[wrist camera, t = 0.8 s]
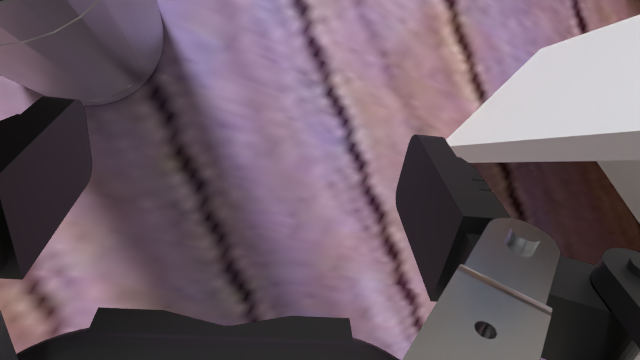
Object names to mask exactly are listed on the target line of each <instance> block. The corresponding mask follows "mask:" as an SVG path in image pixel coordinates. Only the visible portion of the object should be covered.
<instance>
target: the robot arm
mask: <svg viewBox="0 0 640 360" xmlns="http://www.w3.org/2000/svg"><path fill="white" fill-rule="evenodd" d="M163 43H164V41H163V24H162V20H161V15H160V11H159V7H158V3H157V0H0V75H1V76H3V77H6V78H8V79H10V80H12V81H14V82H16V83H19V84H21V85H23V86H25V87H27V88H29V89H31V90H34V91H36V92H38V93H40V94H42V95H44V96H43V97H41V98H40V99H38V100H37V101H36V102H35V103H34V104H32V105H31V106H30V107H29V108H28V109H26V110H25V111H24V112H23V113H22V114H16V115H14V116H11V117H9V118H6V119H4V120H1V121H0V278H3V279H23V278H24V277H25V275H26V274H27V272H28V271H29V269H30V268H31V266H32V265H33V263H34V262H35V261H36V259H37V258H38V256H39V255H40V253H41V252H42V250H43V249H44V247H45V246H46V244H47V243H48V241H49V240H50V239H51V237H52V236H53V234H54V233H55V231H56V230H57V228H58V227H59V225H60V224H61V222H62V221H63V219H64V218H65V217H66V215H67V214H68V212H69V211H70V209H71V208H72V206H73V205H74V203H75V202H76V200H77V199H78V197H79V196H80V195H81V193H82V192H83V190H84V189H85V187H86V186H87V184H88V182H89V180H90V176H91V171H92V156H91V149H90V142H89V135H88V128H87V121H86V113H85V108H84V106H93V105H103V104H107V103H111V102H115V101H118V100H120V99H122V98H124V97H126V96H128V95H130V94H132V93H133V92H135V91H136V90H137V89H138V88H140V87H141V86H142V85H143V84H145V82H146V81H147V80H148V79H149V77H150V76H151V75H152V73H153V72H154V70H155V68H156V66H157V64H158V62H159V60H160V57H161V53H162V48H163ZM396 207H397V211H398V213H399V216H400V219H401V222H402V224H403V227H404V230H405V233H406V235H407V238H408V241H409V243H410V246H411V249H412V252H413V254H414V257H415V260H416V263H417V265H418V268H419V271H420V274H421V276H422V279H423V282H424V284H425V287H426V290H427V293H428V295H429V298H430V301H436V302H437V303H436V305H435V306H434V308H433V310H432V311H431V313H430V315H429V316H428V318H427V320H426V321H425V323H424V325H423V326H422V328H421V330H420V331H419V333H418V335H417V336H416V338H415V340H414V341H413V343H412V345H411V346H410V348H409V350H408V351H407V353H406V355H405V356H404V358H403V360H540V358H544V359H547V360H634V359H635V358H636V357H637V355H638V354H639V353H640V253H639V252H636V251H633V250H629V249H624V248H611V249H608V250H606V251H605V252H604V254H603V255H602V257H601V259H600V260H599V262H598V263H597V265H593V264H589V263H586V262H582V261H579V260H575V259H571V258H568V257H564V256H561V255H560V249H559V247H558V245H557V243H556V242H555V241H554V240H553V239H552V237H551V236H549V235H548V234H547V233H546V232H544V231H543V230H541V229H540V228H538V227H536V226H534V225H532V224H530V223H527V222H524V221H521V220H518V219H513V218H511V217H510V216H509V214H508V213H507V211H506V210H505V208H504V207H503V206H502V204H501V203H500V201H499V200H498V199H497V197H496V196H495V194H494V193H493V192H491V189H490V187H489V186H488V185H487V183H486V182H484V179H483V178H482V176H481V175H480V173H479V172H478V171H477V169H476V168H475V167H473V166H472V165H471V164H469V163H468V162H467V161H465V160H464V159H463V158H461V157H457V156H456V155H455V153H454V152H453V150H452V149H451V147H450V146H449V144H448V143H447V141H446V140H445V138H443V137H436V136H427V135H417V134H415V135H413V136H412V138H411V140H410V142H409V145H408V149H407V152H406V156H405V160H404V163H403V167H402V170H401V174H400V178H399V181H398V185H397V190H396ZM0 360H399V359H398V358H396V357H394V356H393V355H391V354H390V353H388V352H387V351H385V350H383V349H381V348H379V347H377V346H375V345H372V344H370V343H367V342H365V341H362V340H359V339H355V338H352V333H351V326H350V320H349V318H328V317H305V316H287V317H282V318H276V319H270V320H264V321H258V322H252V323H246V324H240V325H234V326H223V325H218V324H214V323H210V322H206V321H203V320H199V319H195V318H191V317H187V316H183V315H179V314H176V313H172V312H168V311H164V310H143V309H120V308H98V310H97V312H96V314H95V316H94V319H93V321H92V323H91V325H90V327H89V328H86V329H80V330H76V331H72V332H68V333H65V334H61V335H58V336H56V337H53V338H50V339H47V340H44V341H42V342H40V343H38V344H35V345H33V346H31V347H29V348H27V349H25V350H23V351H21V352H19V353H17V354H16V352H15V350H14V347H13V344H12V341H11V338H10V336H9V333H8V330H7V327H6V325H5V322H4V319H3V316H2V313H1V311H0Z"/></svg>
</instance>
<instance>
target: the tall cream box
mask: <svg viewBox="0 0 640 360" xmlns="http://www.w3.org/2000/svg"><path fill="white" fill-rule="evenodd" d="M446 141H447V143H448V144H449V146H450V147H451V149H452V150H453V152H454V153H455V155H456V156H457V157H461V158H463V159H464V160H465V161H467V162H468V163H491V162H560V161H597V163H598V164H599V166H600V167H601V169H602V170H603V171H604V173H605V174H606V176H607V177H608V179H609V180H610V182H611V183H612V184H613V186H614V187H615V189H616V190H617V192H618V193H619V195H620V196H621V197H622V199H623V200H624V202H625V203H626V205H627V206H628V208H629V209H630V210H631V212H632V213H633V215H634V216H635V218H636V219H637V221H638V222H639V223H640V15H637V16H634V17H631V18H628V19H626V20H623V21H620V22H617V23H614V24H611V25H608V26H605V27H602V28H600V29H597V30H594V31H591V32H588V33H585V34H582V35H579V36H576V37H574V38H571V39H568V40H565V41H562V42H559V43H556V44H553V45H550V46H548V47H545V48H542V49H540V50H539V51H538V52H537V53H536V54H535V55H534V56H532V57H531V58H530V59H529V60H528V61H527V62H526V63H525V64H524V65H523V66H522V67H521V68H520V69H519V70H518V71H517V72H516V73H515V74H514V75H513V76H512V77H511V78H510V79H509V80H508V81H507V82H506V83H504V84H503V85H502V86H501V87H500V88H499V89H498V90H497V91H496V92H495V93H494V94H493V95H492V96H491V97H490V98H489V99H488V100H487V101H486V102H485V103H484V104H483V105H482V106H481V107H480V108H479V109H478V110H476V111H475V112H474V113H473V114H472V115H471V116H470V117H469V118H468V119H467V120H466V121H465V122H464V123H463V124H462V125H461V126H460V127H459V128H458V129H457V130H456V131H455V132H454V133H453V134H452V135H451V136H450V137H448V138H447V139H446ZM634 360H640V353H639V354H638V355H637V357H636V358H635V359H634Z"/></svg>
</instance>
